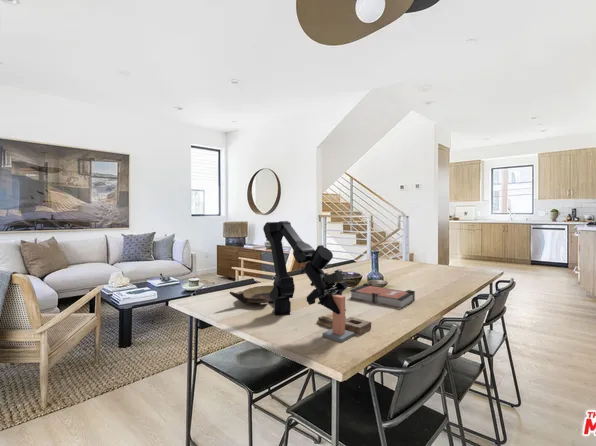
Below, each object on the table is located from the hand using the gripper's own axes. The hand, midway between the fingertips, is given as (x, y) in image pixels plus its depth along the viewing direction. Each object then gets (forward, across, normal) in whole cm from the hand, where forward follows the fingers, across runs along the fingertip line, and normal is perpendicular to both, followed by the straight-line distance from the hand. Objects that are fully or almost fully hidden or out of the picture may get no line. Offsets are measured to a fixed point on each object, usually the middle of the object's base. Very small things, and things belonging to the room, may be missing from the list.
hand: (342, 312), depth 114 cm
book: (-2, +53, +15) cm, 56 cm away
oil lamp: (-32, +10, +44) cm, 56 cm away
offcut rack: (+2, +10, +10) cm, 14 cm away
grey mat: (+5, 0, +7) cm, 9 cm away
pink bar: (+4, 0, +6) cm, 8 cm away
